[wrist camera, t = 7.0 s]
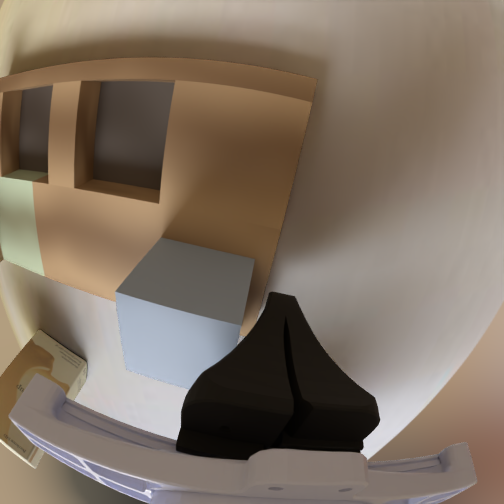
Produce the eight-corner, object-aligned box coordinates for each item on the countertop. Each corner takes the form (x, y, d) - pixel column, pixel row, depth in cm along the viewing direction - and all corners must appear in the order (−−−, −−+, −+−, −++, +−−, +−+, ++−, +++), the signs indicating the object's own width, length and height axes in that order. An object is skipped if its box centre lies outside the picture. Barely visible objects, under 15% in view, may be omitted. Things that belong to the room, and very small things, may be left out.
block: (238, 330, 15) (223, 397, 11) (158, 309, 15) (126, 369, 11) (254, 259, 13) (241, 325, 9) (161, 237, 13) (115, 291, 9)
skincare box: (88, 360, 22) (30, 463, 11) (87, 380, 24) (39, 471, 13) (36, 325, 21) (-30, 414, 11) (39, 349, 23) (-15, 430, 12)
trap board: (255, 314, 17) (245, 379, 13) (12, 244, 17) (-28, 275, 13) (312, 84, 11) (329, 67, 7) (7, 80, 11) (-47, 87, 7)
